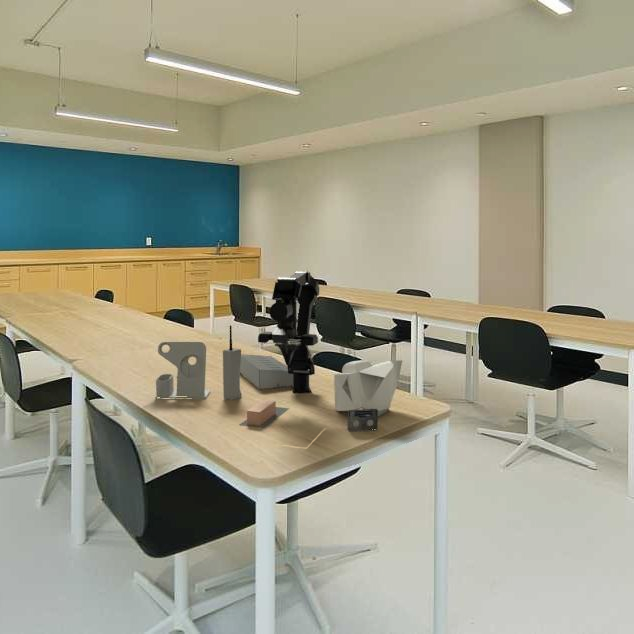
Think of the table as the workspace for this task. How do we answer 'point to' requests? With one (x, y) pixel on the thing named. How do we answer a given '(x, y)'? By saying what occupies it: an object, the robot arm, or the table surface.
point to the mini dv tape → (362, 419)
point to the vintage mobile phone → (231, 371)
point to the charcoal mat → (278, 412)
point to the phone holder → (184, 371)
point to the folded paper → (366, 385)
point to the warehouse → (265, 371)
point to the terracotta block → (261, 412)
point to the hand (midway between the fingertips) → (287, 364)
